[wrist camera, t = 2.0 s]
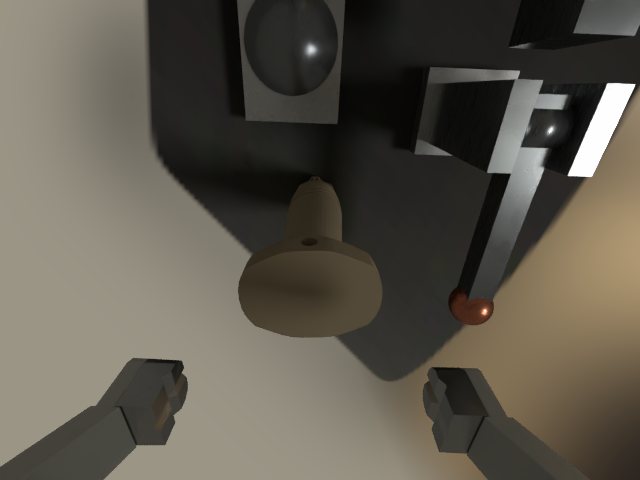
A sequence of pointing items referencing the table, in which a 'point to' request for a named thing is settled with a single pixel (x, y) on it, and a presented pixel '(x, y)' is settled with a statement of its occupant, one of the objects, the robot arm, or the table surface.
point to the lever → (532, 141)
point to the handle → (311, 273)
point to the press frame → (434, 97)
